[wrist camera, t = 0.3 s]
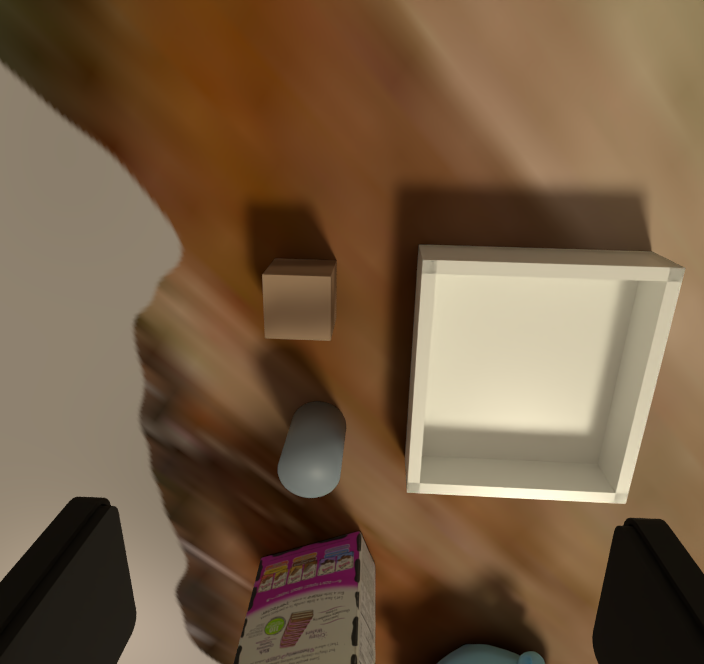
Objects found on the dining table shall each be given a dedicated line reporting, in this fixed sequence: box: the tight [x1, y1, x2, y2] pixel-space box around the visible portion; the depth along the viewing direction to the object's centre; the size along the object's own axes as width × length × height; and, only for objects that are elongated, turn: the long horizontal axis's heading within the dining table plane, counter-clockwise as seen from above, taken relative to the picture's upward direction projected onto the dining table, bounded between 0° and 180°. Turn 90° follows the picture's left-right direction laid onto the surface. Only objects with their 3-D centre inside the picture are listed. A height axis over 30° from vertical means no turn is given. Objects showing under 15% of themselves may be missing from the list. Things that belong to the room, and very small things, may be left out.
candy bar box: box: [234, 531, 375, 664], centre depth 48 cm, size 11×5×16 cm, turn 111°
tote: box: [405, 244, 685, 504], centre depth 43 cm, size 20×18×5 cm
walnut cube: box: [262, 258, 337, 341], centre depth 42 cm, size 5×5×5 cm
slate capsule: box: [278, 401, 346, 498], centre depth 46 cm, size 5×5×7 cm
